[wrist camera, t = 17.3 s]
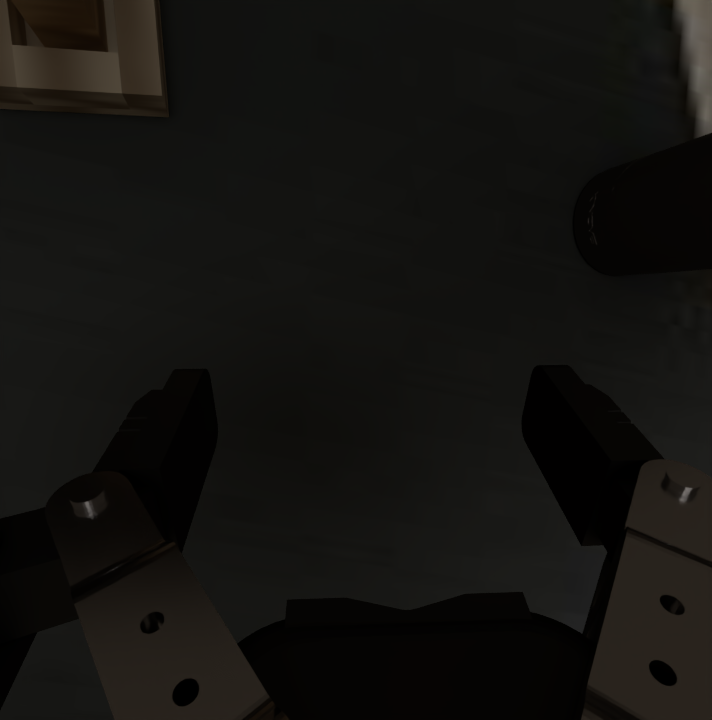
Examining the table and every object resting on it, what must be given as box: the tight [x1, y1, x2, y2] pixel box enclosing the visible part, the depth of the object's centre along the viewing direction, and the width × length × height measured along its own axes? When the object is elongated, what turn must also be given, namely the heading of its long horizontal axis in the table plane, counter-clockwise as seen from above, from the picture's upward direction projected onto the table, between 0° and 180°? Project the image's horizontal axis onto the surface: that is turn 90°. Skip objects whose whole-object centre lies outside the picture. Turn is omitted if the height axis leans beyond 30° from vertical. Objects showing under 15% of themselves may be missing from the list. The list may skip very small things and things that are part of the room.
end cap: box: [0, 0, 169, 117], centre depth 29 cm, size 10×10×4 cm
